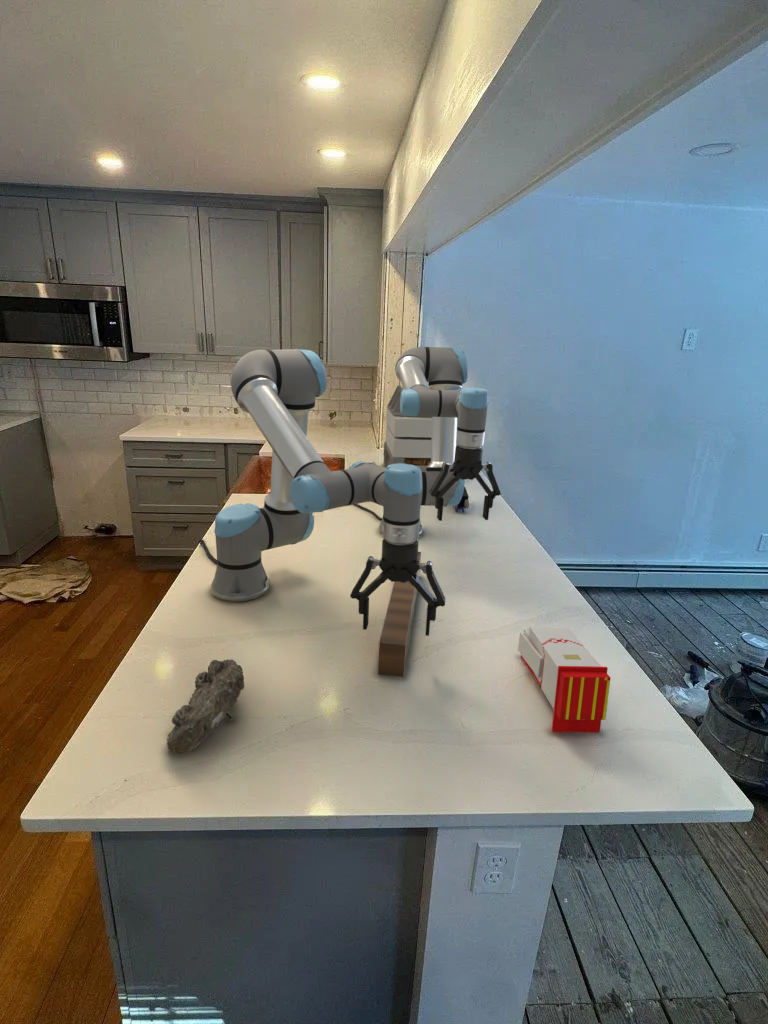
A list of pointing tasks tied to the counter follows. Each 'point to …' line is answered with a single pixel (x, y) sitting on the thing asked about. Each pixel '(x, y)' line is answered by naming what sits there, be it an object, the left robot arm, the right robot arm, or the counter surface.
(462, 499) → the figurine character
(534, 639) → the toy
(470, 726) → the counter surface
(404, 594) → the bar
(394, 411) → the white wooden crate
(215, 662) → the fossil
